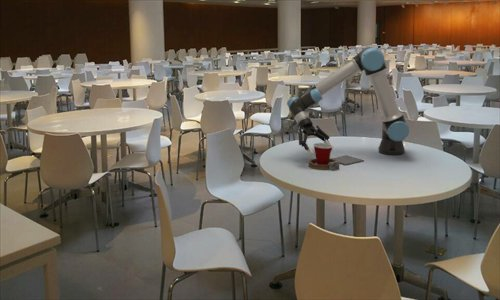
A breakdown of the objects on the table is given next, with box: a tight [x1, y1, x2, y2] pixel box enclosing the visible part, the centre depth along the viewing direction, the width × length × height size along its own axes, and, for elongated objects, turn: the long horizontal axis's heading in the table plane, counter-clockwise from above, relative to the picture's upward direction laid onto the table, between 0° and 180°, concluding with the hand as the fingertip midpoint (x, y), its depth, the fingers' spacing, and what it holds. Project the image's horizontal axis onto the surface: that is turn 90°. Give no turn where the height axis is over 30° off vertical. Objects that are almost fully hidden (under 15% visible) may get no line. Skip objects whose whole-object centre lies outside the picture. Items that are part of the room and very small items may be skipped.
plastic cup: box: [312, 142, 334, 165], centre depth 273 cm, size 11×11×12 cm
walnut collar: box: [308, 157, 340, 172], centre depth 273 cm, size 15×18×4 cm
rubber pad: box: [330, 154, 365, 166], centre depth 283 cm, size 14×14×1 cm
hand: (321, 152), depth 273 cm, fingers open, 13 cm apart
